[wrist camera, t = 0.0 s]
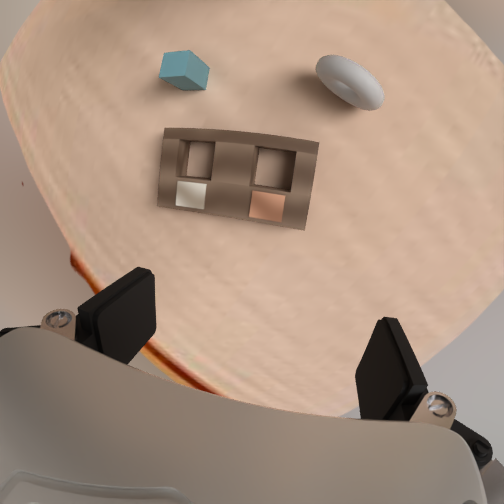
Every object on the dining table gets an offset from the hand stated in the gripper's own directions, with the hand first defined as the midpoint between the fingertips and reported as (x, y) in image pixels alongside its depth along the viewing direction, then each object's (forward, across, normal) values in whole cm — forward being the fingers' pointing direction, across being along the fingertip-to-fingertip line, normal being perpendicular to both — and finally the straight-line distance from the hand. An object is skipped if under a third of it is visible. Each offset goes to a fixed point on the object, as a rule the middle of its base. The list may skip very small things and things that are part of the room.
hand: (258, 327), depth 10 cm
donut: (+31, -5, -19) cm, 37 cm away
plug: (+31, +18, -19) cm, 41 cm away
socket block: (+31, +9, -4) cm, 33 cm away
